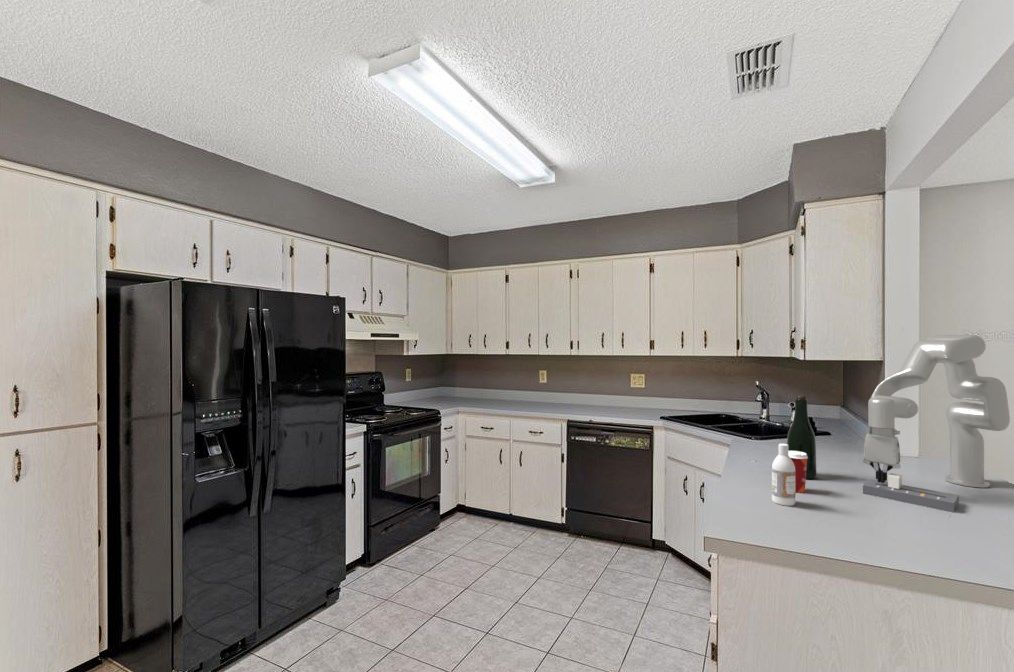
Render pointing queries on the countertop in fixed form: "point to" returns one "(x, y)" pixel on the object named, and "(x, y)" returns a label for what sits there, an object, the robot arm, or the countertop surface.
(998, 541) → the countertop surface
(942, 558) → the countertop surface
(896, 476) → the fader knob
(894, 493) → the fader console
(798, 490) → the paper cup
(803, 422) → the green wine bottle
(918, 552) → the countertop surface
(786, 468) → the bath foam
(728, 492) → the countertop surface
